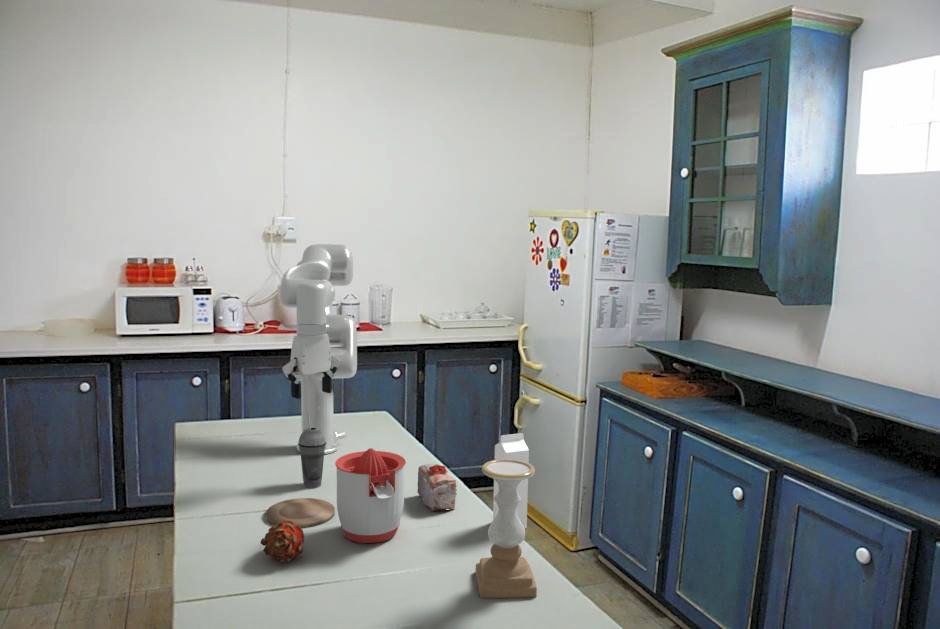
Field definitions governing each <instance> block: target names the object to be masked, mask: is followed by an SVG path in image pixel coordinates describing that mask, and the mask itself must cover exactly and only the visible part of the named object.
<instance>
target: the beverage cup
mask: <svg viewBox="0 0 940 629" xmlns="http://www.w3.org/2000/svg"><path fill="white" fill-rule="evenodd" d="M307 417H308V425H309V428H308V429H306V430H305V431H303V433H302V432H301V433H300V436H299V438H298V443H297V445H299V449H300V452H299V453H300V461H301V462H300V464H301V472H302V480H303V487H304V488H307V489H317V488H320V487H321V486H322V481H323V480H322V479H323V470H324V458H325V454H324V451H325V446H326V440H325V436H324V434H323V432H322V431H321V430H319V429H317V428H311V426H310V418H309V411H308V412H307Z"/></svg>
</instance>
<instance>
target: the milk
mask: <svg viewBox="0 0 940 629" xmlns="http://www.w3.org/2000/svg"><path fill="white" fill-rule="evenodd" d="M524 436H525V435H524V433H522V432H520V433H513V434H503V435H500V438H499V439H500V441H499V442H498V443H496V444H495V445H494V460H498V459H514V460H520V461H524V462H527V463H529V464H530V462H529V460H530V450H529V447H528V446H527V443H526V442H525V440H524V439H525V438H524ZM528 486H529V478H528V479H524V480H521V482H520V483H519V484H518V486H517V493H518V495H519V496H520V498H521V502H520V503H518V506H517V508H516V513H517V516H518V518H519V520H520V521H521V523H522V525H523V527H524V529H527V526H528V525H527V524H528V495H529V494H528V492H529V491H528V489H529V488H528ZM498 491H499V485H498V483H497V482H496V480H495V479H494V478H493V505H492V507H493V508H492V510H493V511H492V521H493V520H494V519H495V517H496V515H497V514H498V511H499V507H498V505H497V502H495V500H494V497H495V496H496V495H497V493H498Z"/></svg>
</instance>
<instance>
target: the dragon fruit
mask: <svg viewBox="0 0 940 629" xmlns="http://www.w3.org/2000/svg"><path fill="white" fill-rule="evenodd" d="M304 542H305V533H304V530H303V528H301V527H300V526H296V525H295V524H294V523H293V522H292V521H290V520H283V521H282V522H281V523H279V524H274V525H273V524H272V526H271V527H270V528H268V532H266V533H265V536H264V537H262V538H261V539H260V545H262V546H263V547H264V548H263V554H264V555H265V556H269V557H271V558H272V559H274V560H277V561H278V562H279V563H280V562H281V563H288V562H290V561H291V560H293V558H297V557H300V556H301V555H302V554H303V551H304V547H303V545H304Z"/></svg>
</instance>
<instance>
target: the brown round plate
mask: <svg viewBox="0 0 940 629" xmlns="http://www.w3.org/2000/svg"><path fill="white" fill-rule="evenodd" d="M335 513H336V512H335V505H334V504H333V503H331V502H330V501H327V500H325V499H320V498H313V497H312V498H311V497H297V498H292V499H291V498H290V499H286V500H282V501H279V502H276V503H274V504H272V505H271V506H269V507H268V508H267V510H266V512H265V519H266V521H267V522H268V523H269V524H271V525H272V526H273V525H274V524H279V523H281V522H282V521H283V520H290V521H292V522H293V523H294V524H295V525H296V526H300V527H301V528H302V529H305V528H312V527H315V526H319V525H322V524H325V523H327V522H329V521H330V520H332V519H333V517H334V516H335Z"/></svg>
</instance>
